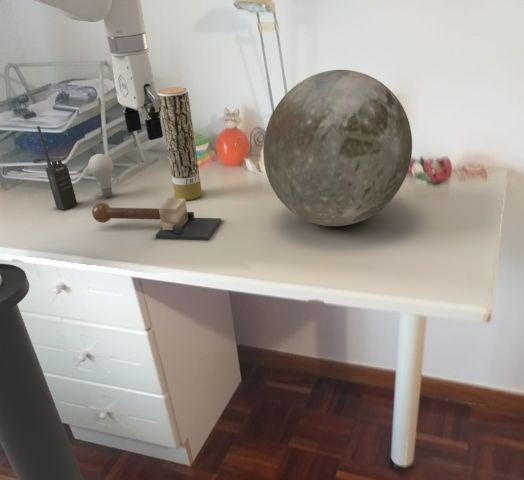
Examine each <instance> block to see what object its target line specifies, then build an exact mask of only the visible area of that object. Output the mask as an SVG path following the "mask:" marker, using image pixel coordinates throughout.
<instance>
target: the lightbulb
mask: <svg viewBox="0 0 524 480" xmlns="http://www.w3.org/2000/svg"><path fill="white" fill-rule="evenodd" d="M88 171H89V172H90V174H91V175H92V177H93V178H94V179H95V181H96V182H97V184H98V186H99V188H100V191H101V194H102V196H103V197H106V198H110V197H111V196H112V195H113V188H112V186H113V183H112V176H113V173H114V163H113V161H112V159H111V157H109V156H108V155H106V154H104V153H95V154H94V155H92V156H91V157H90V159H89V161H88Z"/></svg>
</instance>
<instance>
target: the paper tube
mask: <svg viewBox="0 0 524 480" xmlns="http://www.w3.org/2000/svg"><path fill="white" fill-rule="evenodd" d="M157 95H158V96H159V97H160V109H161V111H160V115H161V121H162V126H163V132H164V137H165V144H166V150H167V155H168V161H169V167H170V173H171V179H172V185H173V190H174V191H173V192H174V196H175V198H177V199H185V201H193V200H195V199H199V198H200V197H201V196H202V193H203V191H202V184H201V176H200V169H199V163H198V153H197V148H196V139H195V132H194V126H193V118H192V112H191V111H192V110H191V105H190V104H191V103H190V97H189V90H188V87H184V86H175V87H167V88H163V89H159V90H157Z"/></svg>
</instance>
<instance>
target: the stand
mask: <svg viewBox="0 0 524 480" xmlns="http://www.w3.org/2000/svg"><path fill="white" fill-rule="evenodd" d="M187 214H188V221H187V222H186V223H185V225H184V226H182V225H174V226H173V227H172V228H173V230H163V229H162V227H161V228H160V229H159V230H158V232H156V234H155V239H159V240H160V239H161V240H187V241H188V240H190V241H208V240H209V239H210V237H212V235H213V233H214V232H215V231H216V229H217V228H218V226H219V225H220V224H221V222H222V218H221V217H195V212H194V211H187Z"/></svg>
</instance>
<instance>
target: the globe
mask: <svg viewBox="0 0 524 480" xmlns="http://www.w3.org/2000/svg"><path fill="white" fill-rule="evenodd" d="M262 152H263V153H262V154H263V166H264V170H265V173H266V177H267V180H268V182H269V185H270V187H271V189H272V190H273V192H274V194H275V196H276V197H277V198H278V199H279V201H280V202H281V203H282V204H283V205H284V206H285V207H286V208H287V209H288V210H289V211H290V212H292V214H294V215H296V216H297V217H299V218H301V219H303V220H305V221H307V222H308V223H312V224H314V225H319V226H325V227H345V226H350V225H354V224H357V223H360V222H363V221H365V220H367V219H369V218H371V217H373V216H374V215H376V214H377V213H379V212H380V211H382V210H383V209H384V208H385V207H386V206H387V205H388V204H389V203H390V202H391V201H392V200H393V199H394V197H395V196H396V195H397V194H398V192H399V190H400V189H401V187H402V186H403V183H404V181H405V180H406V177H407V174H408V172H409V169H410V165H411V161H412V156H413V155H412V153H413V135H412V129H411V124H410V120H409V117H408V115H407V113H406V110H405V108H404V107H403V105H402V103H401V101H400V100H399V98H398V97H397V96H396V95H395V93H394V92H393V91H391V89H390V88H389V87H388V86H387V85H385V84H384V83H383V82H382V81H379V80H378V79H376V78H375V77H374V76H371V75H369V74H366V73H363V72H360V71H356V70H352V69H351V70H350V69H331V70H326V71H321V72H318V73H316V74H312V75H311V76H309V77H306V78H305V79H303V80H302V81H300V82H298V83H297V84H296V85H294V86H292V87H291V88H290V89H289V90H288V91H287V92H286V94H285V95H284V96H283V97H282V98H281V99H280V101H279V102H278V103H277V104H276V106H275V108H274V110H273V111H272V113H271V115H270V118H269V120H268V122H267V126H266V129H265V133H264V138H263V147H262Z"/></svg>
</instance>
